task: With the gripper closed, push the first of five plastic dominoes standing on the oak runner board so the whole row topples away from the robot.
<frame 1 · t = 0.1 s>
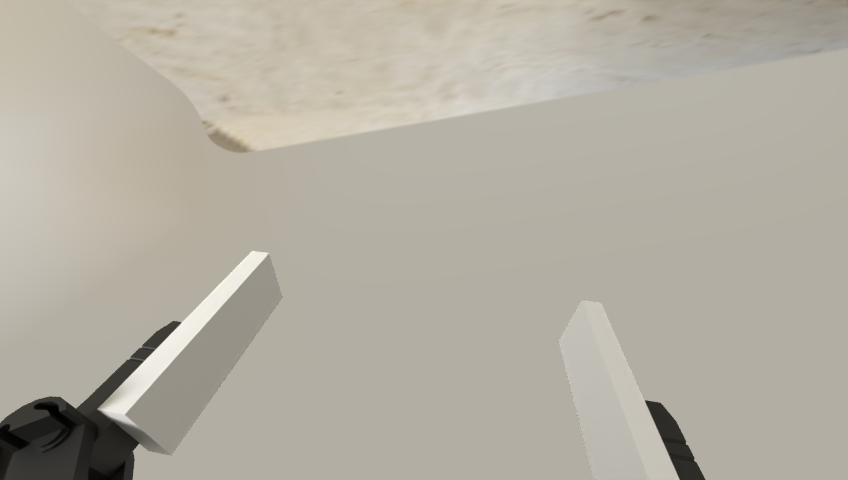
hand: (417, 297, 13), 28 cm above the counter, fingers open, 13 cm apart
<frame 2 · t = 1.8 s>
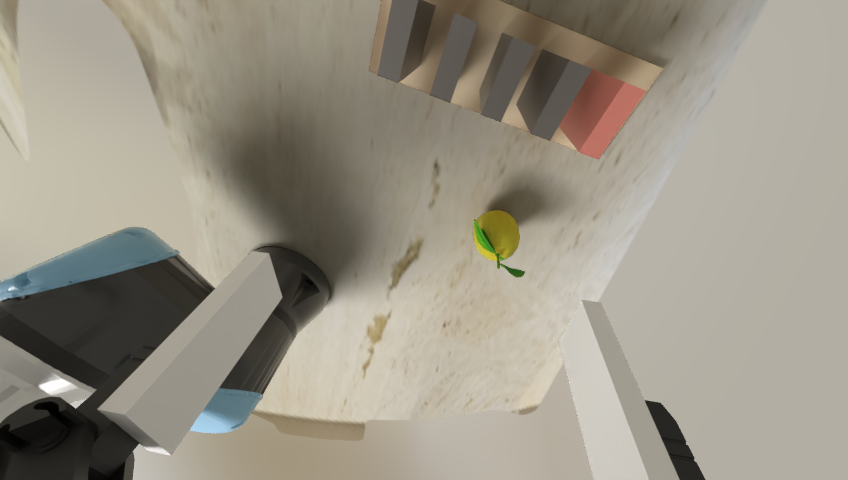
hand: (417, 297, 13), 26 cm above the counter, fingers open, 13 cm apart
domino 1: (418, 34, 28), point 1 cm above the counter, touching runner board
domino 3: (497, 65, 29), point 1 cm above the counter, touching runner board
domino 5: (573, 95, 29), point 1 cm above the counter, touching runner board
runner board: (506, 68, 30), on the counter
lemon: (495, 218, 40), on the counter
domino 4: (536, 81, 29), point 1 cm above the counter, touching runner board
domino 2: (458, 50, 29), point 1 cm above the counter, touching runner board
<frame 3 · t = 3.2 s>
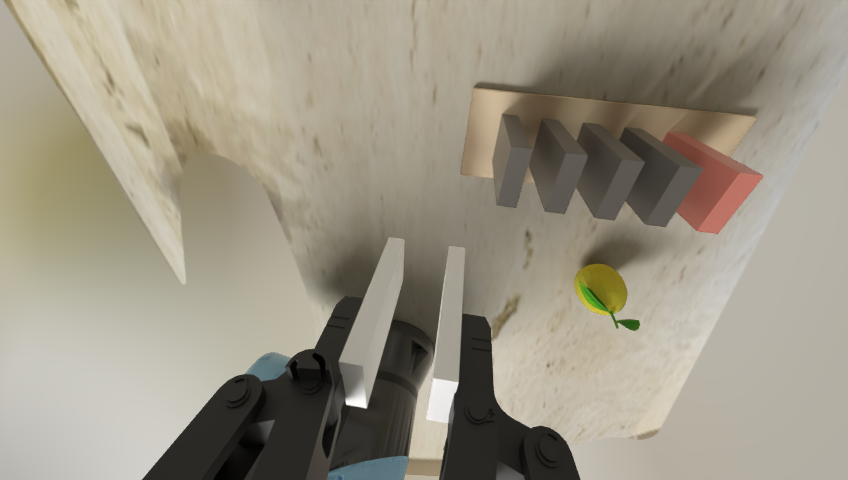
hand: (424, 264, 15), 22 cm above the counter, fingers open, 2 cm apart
domino 1: (504, 139, 32), point 1 cm above the counter, touching runner board
domino 3: (581, 148, 31), point 1 cm above the counter, touching runner board
domino 5: (662, 157, 31), point 1 cm above the counter, touching runner board
runner board: (589, 146, 32), on the counter
lemon: (591, 267, 41), on the counter
domino 4: (621, 152, 31), point 1 cm above the counter, touching runner board
domino 2: (542, 143, 32), point 1 cm above the counter, touching runner board
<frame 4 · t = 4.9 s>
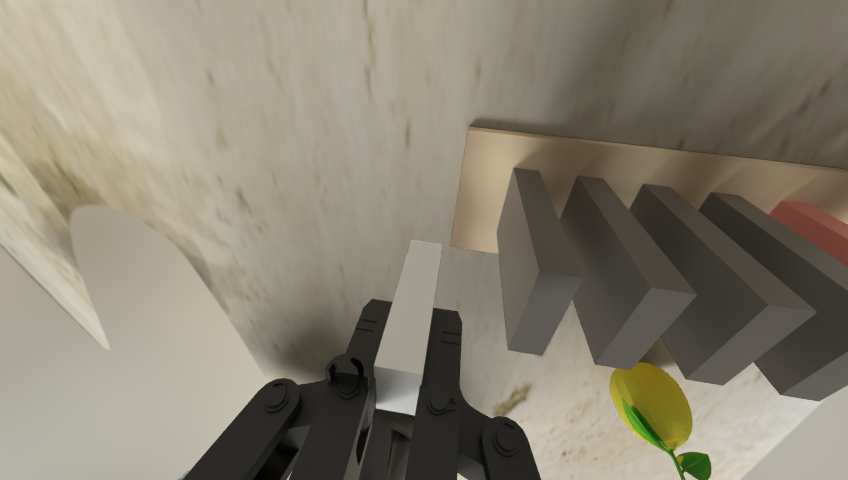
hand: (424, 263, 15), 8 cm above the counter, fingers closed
domino 1: (515, 203, 21), point 1 cm above the counter, touching runner board
domino 3: (636, 219, 20), point 1 cm above the counter, touching runner board
domino 5: (764, 235, 20), point 1 cm above the counter, touching runner board
runner board: (646, 215, 21), on the counter
lemon: (631, 359, 30), on the counter
domino 4: (699, 227, 20), point 1 cm above the counter, touching runner board
domino 2: (575, 211, 20), point 1 cm above the counter, touching runner board
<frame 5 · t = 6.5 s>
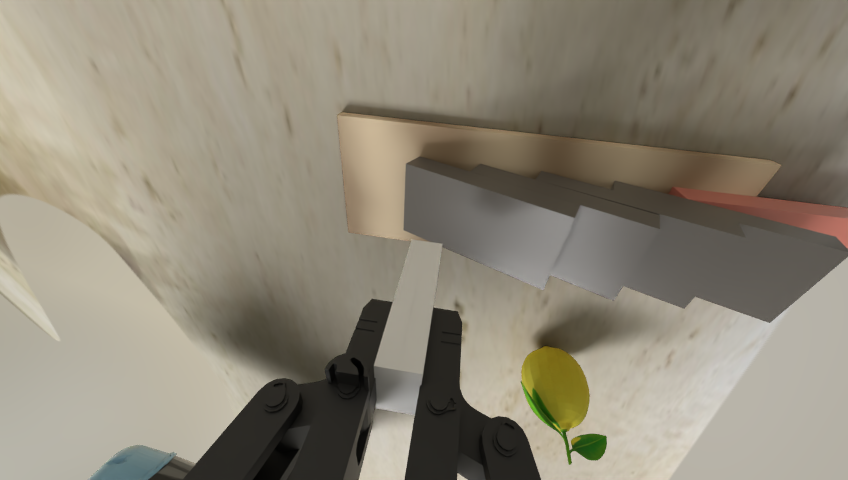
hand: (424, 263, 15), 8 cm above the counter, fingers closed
domino 1: (411, 194, 21), point 2 cm above the counter, tilted 66°, touching domino 2, runner board
domino 3: (527, 209, 20), point 2 cm above the counter, tilted 67°, touching domino 2, domino 4, runner board
domino 5: (657, 227, 19), point 2 cm above the counter, tilted 90°, touching domino 4, runner board
runner board: (525, 199, 21), on the counter
lemon: (547, 345, 30), on the counter
domino 4: (596, 220, 20), point 2 cm above the counter, tilted 67°, touching domino 3, domino 5
domino 2: (469, 202, 20), point 2 cm above the counter, tilted 66°, touching domino 1, domino 3
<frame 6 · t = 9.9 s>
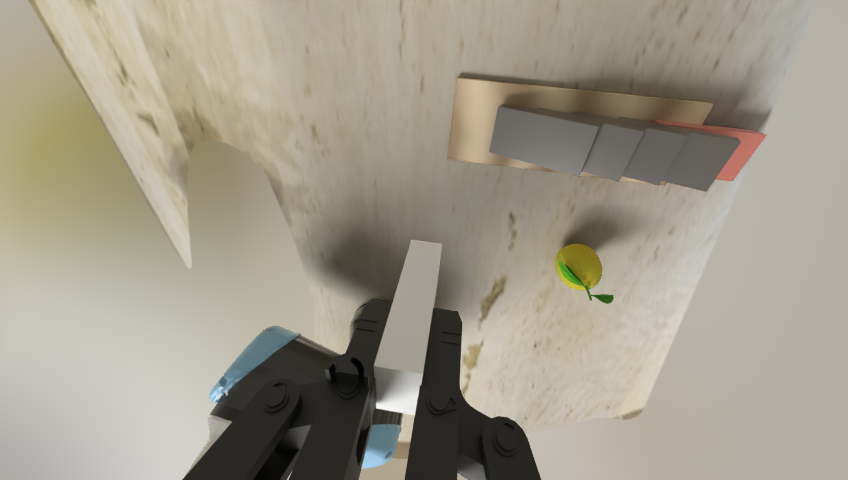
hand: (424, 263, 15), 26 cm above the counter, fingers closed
domino 1: (496, 128, 34), point 2 cm above the counter, tilted 66°, touching domino 2, runner board
domino 3: (567, 136, 33), point 2 cm above the counter, tilted 67°, touching domino 2, domino 4, runner board
domino 5: (645, 145, 33), point 2 cm above the counter, tilted 90°, touching domino 4, runner board
runner board: (564, 132, 35), on the counter
lemon: (571, 248, 44), on the counter
domino 4: (609, 141, 33), point 2 cm above the counter, tilted 67°, touching domino 3, domino 5
domino 2: (531, 132, 34), point 2 cm above the counter, tilted 66°, touching domino 1, domino 3
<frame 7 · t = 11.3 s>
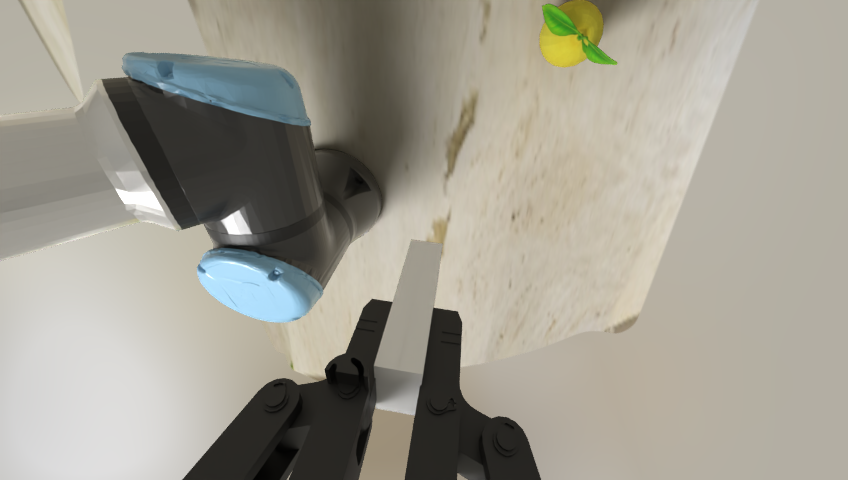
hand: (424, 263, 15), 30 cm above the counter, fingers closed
lemon: (562, 34, 33), on the counter
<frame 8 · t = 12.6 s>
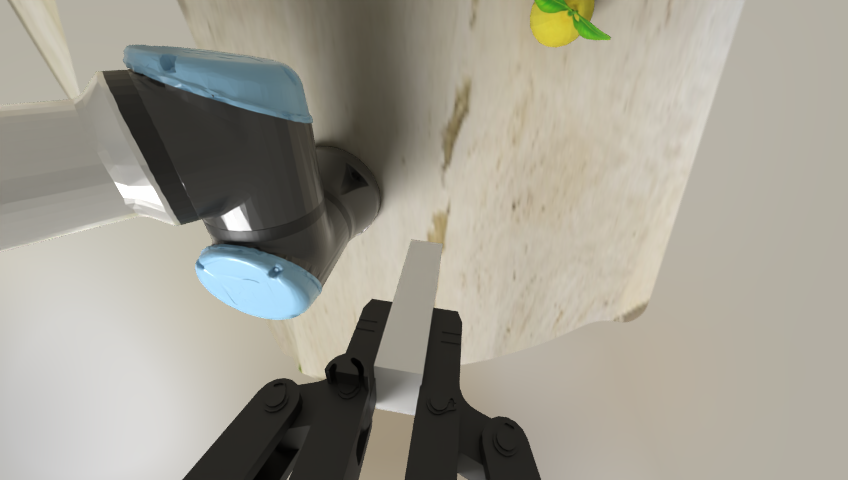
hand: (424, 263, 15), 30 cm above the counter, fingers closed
lemon: (554, 14, 32), on the counter
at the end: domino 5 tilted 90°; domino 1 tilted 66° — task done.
